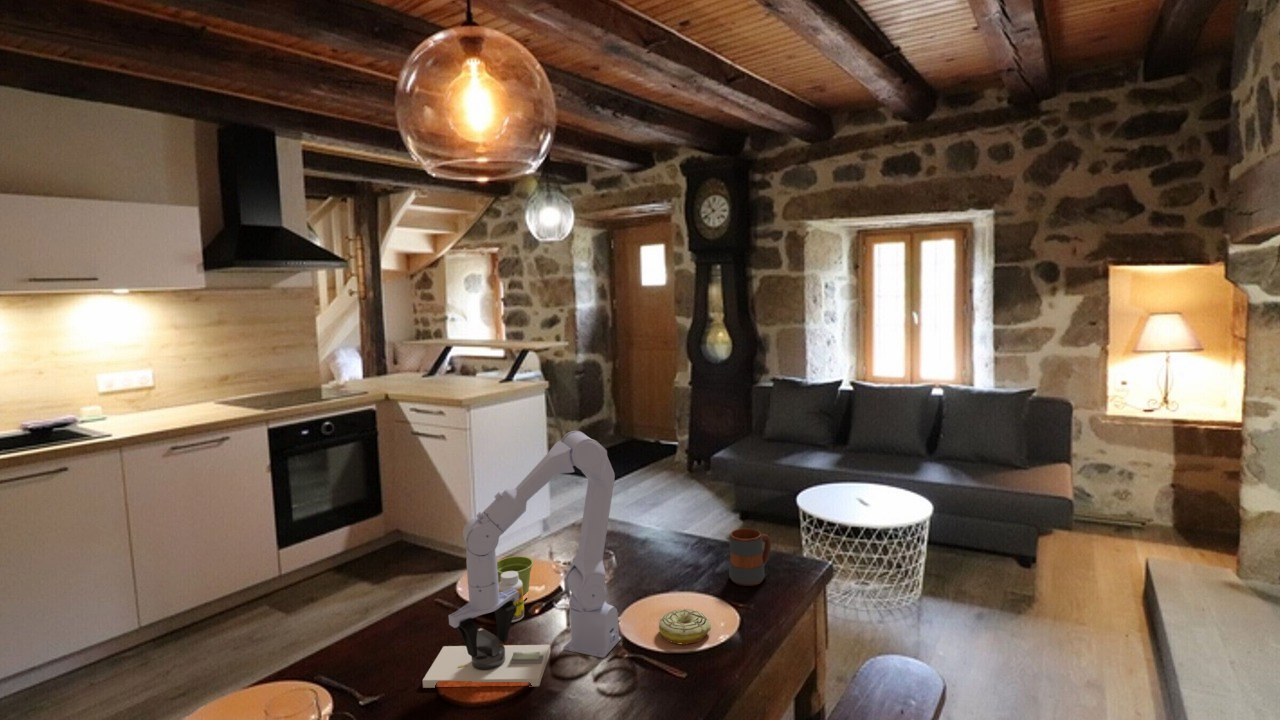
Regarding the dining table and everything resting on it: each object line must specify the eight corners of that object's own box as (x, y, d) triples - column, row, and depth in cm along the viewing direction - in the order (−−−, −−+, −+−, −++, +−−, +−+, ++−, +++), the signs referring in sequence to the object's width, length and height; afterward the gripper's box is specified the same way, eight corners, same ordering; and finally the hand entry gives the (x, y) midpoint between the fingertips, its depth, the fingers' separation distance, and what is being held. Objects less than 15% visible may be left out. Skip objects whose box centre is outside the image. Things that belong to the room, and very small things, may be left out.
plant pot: (527, 608, 159) (525, 572, 158) (489, 607, 160) (486, 571, 159) (540, 590, 168) (538, 556, 167) (503, 589, 169) (501, 555, 168)
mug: (782, 577, 169) (781, 531, 168) (744, 590, 163) (743, 543, 162) (759, 565, 177) (758, 522, 175) (722, 577, 171) (720, 532, 169)
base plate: (550, 651, 140) (549, 635, 139) (539, 686, 128) (538, 668, 127) (444, 653, 141) (442, 637, 140) (423, 687, 129) (421, 670, 128)
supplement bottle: (505, 626, 151) (502, 581, 150) (495, 616, 155) (492, 573, 154) (528, 618, 154) (525, 575, 153) (518, 609, 158) (515, 567, 157)
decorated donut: (720, 633, 144) (720, 616, 144) (684, 653, 137) (684, 635, 137) (685, 616, 152) (684, 600, 152) (649, 634, 145) (649, 617, 145)
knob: (511, 659, 134) (510, 632, 133) (483, 673, 129) (481, 645, 129) (493, 648, 138) (491, 621, 138) (465, 661, 134) (463, 634, 133)
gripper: (502, 563, 140) (507, 626, 142) (438, 588, 130) (443, 655, 131) (523, 572, 135) (527, 638, 137) (458, 599, 125) (463, 669, 126)
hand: (487, 647), depth 134 cm, fingers open, 6 cm apart
